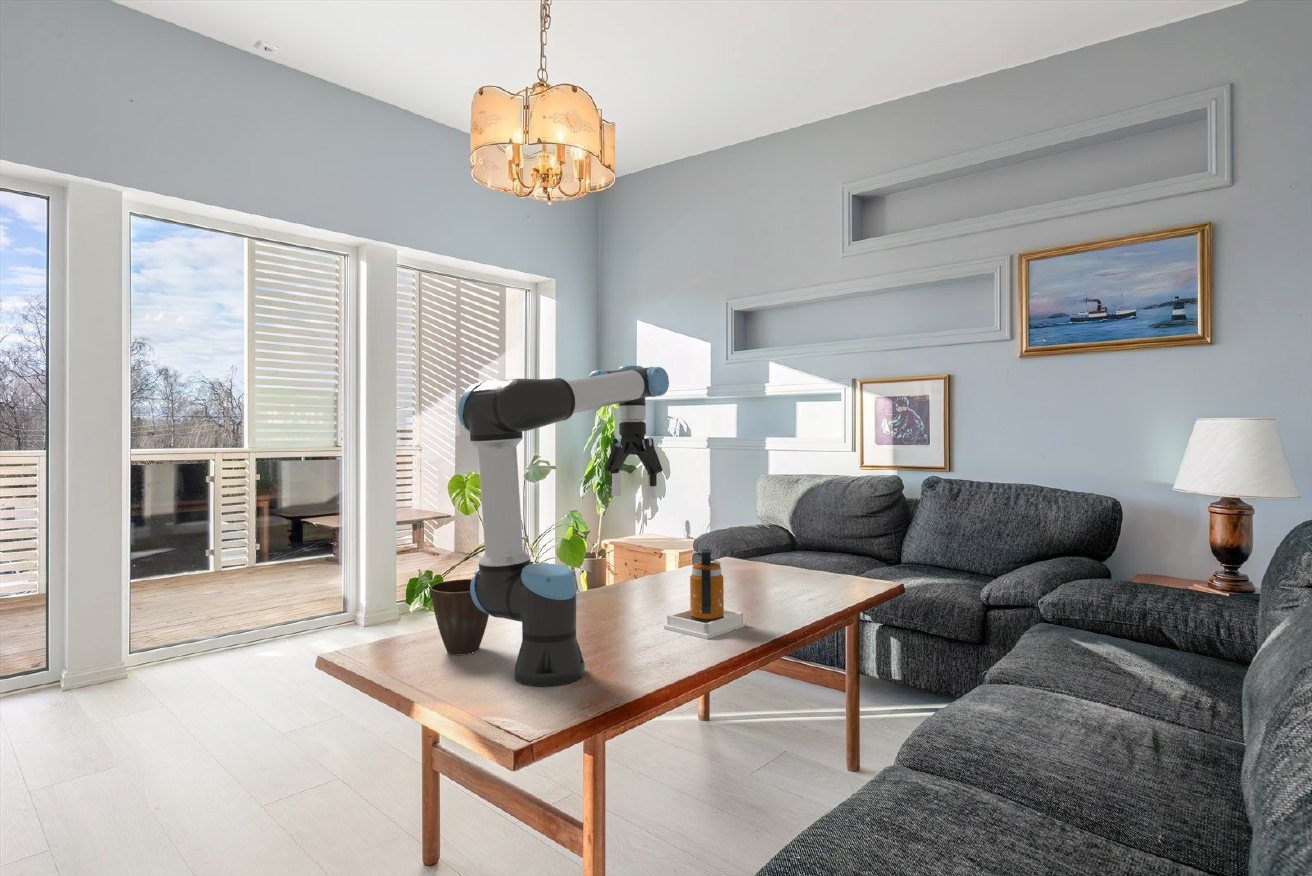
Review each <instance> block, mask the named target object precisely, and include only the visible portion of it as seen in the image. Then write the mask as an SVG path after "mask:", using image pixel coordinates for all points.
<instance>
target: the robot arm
mask: <svg viewBox="0 0 1312 876" xmlns="http://www.w3.org/2000/svg"><path fill="white" fill-rule="evenodd" d="M669 387H670V380H669V375H668V372H667V371H666V369H664V368H663V367H661V366H649V367H643V366H641V365H622V366H620V367H618V369H617V370H616V369H614V370H606V369H596V370H593V371H592V372H590V373H589V375H588V376H587V377H583V378H582V377H581V378H577V379H569V380H566V379H564V378H562V377H561V378H560V377H555V378H544V379H543V378H512V379H511V378H510V379H499V380H484V381H480V382H476V383H474V384H472V385H470V386H469V387H467V388H466V389H465V391H464V392H463V393H462V394H461V396H460V398H459V401H458V405H457V415H458V420H459V422H460V423H461V426H463V427H464V429H465V430H466V431H468V432H469V437H470V438H469V439H470V443H471V445H473V446H474V447H475V448H476V449H477V453H478V454H477V455H478V469H479V481H480V482H479V484H480V485H479V487H480V501H481V515H482V516H481V517H482V529H483V541H484V543H483V544H484V555H483V556H482V557H480V559H479V560H478V568H477V569H476V570H475V571H474V572H473V573H474V576H472V578H471V579H472V580H471V585H470V592H471V597H472V600H473V602H474V604H475V605H476V607H477V608H478V609H479V610H481V611H482V612H484V613H486V614H489V616H491V617H494V618H499V619H505V620H510V621H516V622H520V623H521V624H522V625H521V626H522V627H521V630H522V633H521V635H522V636H521V637H522V638H521V639H522V640H521V645H520V647H519V650H518V651H519V652H518V655H517V658H516V662H515V664H514V679H515V681H517V682H519V684H522V685H526V686H531V687H532V686H533V687H553V686H561V685H566V684H570V683H573V682H576V681H578V680H580V679H581V678H583V677H584V675H585V673H586V672H585V671H586V666H585V665H586V664H585V660H584V658H583V654H582V651H581V648H580V645H579V643H578V639H577V589H578V588H577V584H576V576H575V575H576V574H575V573H574V572H573V570H572V569H570V568H568V567H566V566H564V565H561V564H555V563H545V562H537V563H531V561H532V559H531V555H530V554H529V553H527V551H525V550H524V544H523V543H524V541H523V529H522V528H523V527H522V514H521V513H522V512H521V511H522V510H521V509H522V508H521V497H520V495H521V494H520V481H519V480H520V479H519V469H518V468H519V466H518V451H517V447H518V445H519V444H520V443H521V441H522V440H523V436H524V435H523V432H527V431H532V430H535V429H540V428H543V427H545V426H549V425H553V424H555V423H559V422H563V421H567V420H568V419H570V418H571V417H573V415H574V414H577V413H581V412H586V411H591V410H594V409H599V408H603V407H608V406H611V405H617V404H618V420H619V421H620V422H619V423H618V433H619V436H621V437H620V438H613V439H612V447H611V450H610V453H609V456H608V458H607V463H606V464H605V465H606V466H605V469H604V470H605V472H607V471H608V472H609V473H610V484H611V489H612V490H611V495H612V496H611V497H619V496H620V497H621V496H622V480H621V479H622V476H621V475H622V473H621V471H620V470H621V469H622V466H623V465H624V464H625V461H626V460H627V458H628V457H629V456H630V455H633V456H634V455H635V456H637V457H638V459H639V460H640V462H641V463H642V465H643V467H644V468H645V470H646V471H647V473H646V475H645V480H646V481H645V483H646V485H645V487H646V488H645V490H646V493H645V495H646V496H645V498H646V499H647V500H648V499H650V500H651V499H656V487H657V481H658V480H657V478H658V476H657V475H658V474H659V473H662V472H663V468H662V465H661V462H660V459H659V456H658V454H657V451H656V449H655V445H654V443H655V442H654V439H653V438H651V437H650V438H648V437H647V438H646V437H645V436H646V435H647V423H646V422H644V421H645V420H646V418H647V415H646V413H647V412H646V410H647V409H646V407H647V406H646V405H647V404H646V398H648V397H650V398H651V397H652V398H656V397H661V396H664V395H666V393H667V392H668V390H669Z"/></svg>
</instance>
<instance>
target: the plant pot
mask: <svg viewBox="0 0 1312 876" xmlns="http://www.w3.org/2000/svg"><path fill="white" fill-rule="evenodd" d="M471 580H472V578H467V579H466V578H464V579H463V578H462V579H453V580H452V579H451V580H445V581H441V582H437V583H434V584H433V585H431V586H430V594H431V600H432V606H433V611H434V617H435V619H436V623H437V628H438V631H439V633H440V636H441V640H442V642H443V646H444V647H445V651H446V652H447V653H448V654H449V653H450V654H449V655H453V654H455V655H454V656H462V655H461V654H466V655H470V654H469V653H471V654H473V653H472V652H474V653H475V652H477V650H479V649H480V646H481V644H482V642H483V641H482V640H483V637H484V635H485V633H486V632H485V631H486V628H487V625H488V621H489V616H490V615H489V614H486V613H484V612H482V611H481V610H479V609H478V608H477V607H476V605H475V604H474V602H473V600H472V597H471V592H470V585H471ZM456 654H458V655H456ZM459 654H460V655H459Z"/></svg>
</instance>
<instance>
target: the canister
mask: <svg viewBox="0 0 1312 876" xmlns="http://www.w3.org/2000/svg"><path fill="white" fill-rule="evenodd" d="M711 555H712V549H710V548H702V549H701V558H700V562H696V563H694V564H693V565H692V567H691V575H690V576H689V584H690V585H689V593H690V594H689V596H690V598H689V600H690V604H689V605H690V609H691V620H694V621H698V622H703V623H709V622H712V621H715V620H718V619H721V618H724V616H723V615H724V609H725V606H724V602H725V601H724V600H725V599H724V591H725V589H724V575H722V567H721V562H720V561H718V560H716V559H713V558H712V557H711Z"/></svg>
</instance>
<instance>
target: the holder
mask: <svg viewBox="0 0 1312 876" xmlns="http://www.w3.org/2000/svg"><path fill="white" fill-rule="evenodd" d="M723 616H724V618H721V619H718V620H715V621H712V622H709V623H703V622H698V621H694V620H691V608H690V609H687V610H683V611H678V612H676V613H671V614H669V615H667V617H666V618H667V623H666V624H663V629H664V630H667V629H668V630H669V631H671V630H672V631H671V632H675V633H679V634H684V635H687V634H688V635H687V636H691V637H696V638H701V639H704V638H705V639H704V640H709V639H712V638H715V637H718V636H721V635H724V634H726V633H731V632H732V630H733V631H735V630H734V629H736V630H739V629H741V627H742V628H744V626H745V627H747V625H748V624H747V623H748V622H747V621H744V612H740V611H736V610H730V609H727V608H726V609H725V608H724V615H723ZM668 630H667V631H668ZM720 634H721V635H720Z"/></svg>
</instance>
